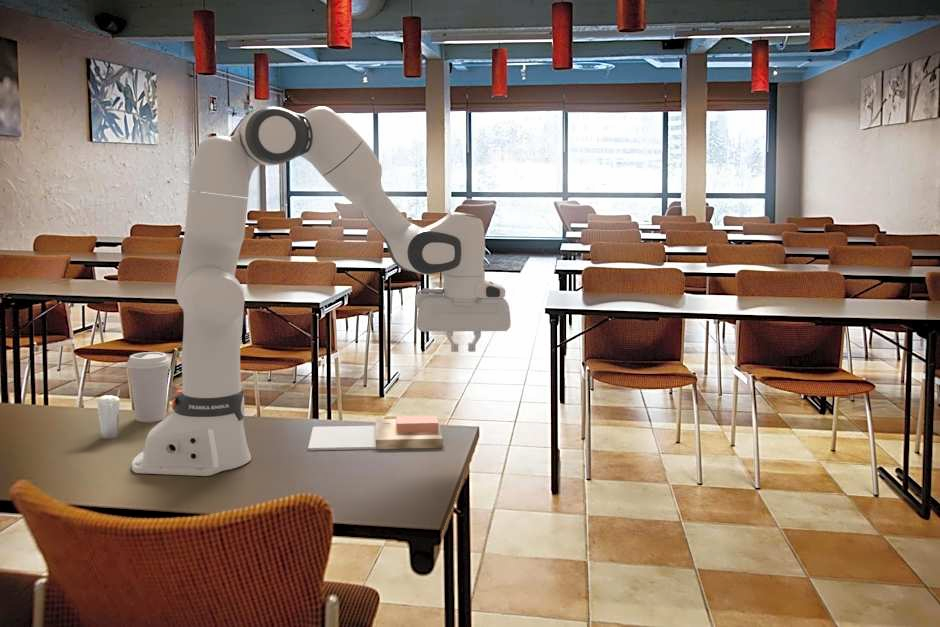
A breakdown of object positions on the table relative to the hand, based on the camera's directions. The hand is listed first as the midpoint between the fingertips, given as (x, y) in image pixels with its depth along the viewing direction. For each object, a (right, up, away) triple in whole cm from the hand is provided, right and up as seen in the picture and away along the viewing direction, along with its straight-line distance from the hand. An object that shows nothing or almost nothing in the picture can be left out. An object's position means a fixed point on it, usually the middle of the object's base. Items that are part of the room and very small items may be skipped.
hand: (463, 351), depth 197 cm
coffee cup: (-73, -16, +14) cm, 76 cm away
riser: (-12, -19, +2) cm, 23 cm away
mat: (-26, -19, 0) cm, 32 cm away
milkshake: (-76, -19, 0) cm, 79 cm away
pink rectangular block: (-10, -17, +2) cm, 20 cm away
